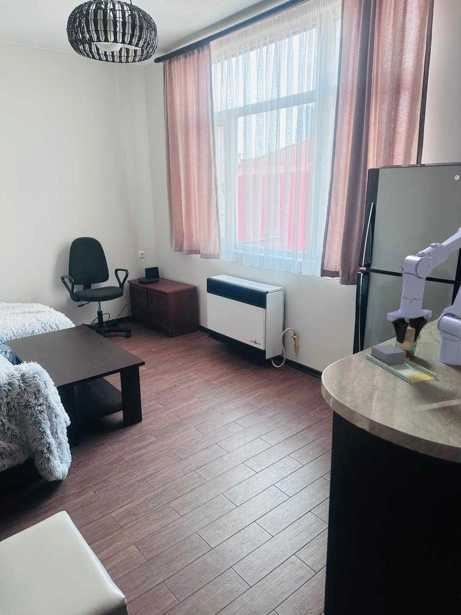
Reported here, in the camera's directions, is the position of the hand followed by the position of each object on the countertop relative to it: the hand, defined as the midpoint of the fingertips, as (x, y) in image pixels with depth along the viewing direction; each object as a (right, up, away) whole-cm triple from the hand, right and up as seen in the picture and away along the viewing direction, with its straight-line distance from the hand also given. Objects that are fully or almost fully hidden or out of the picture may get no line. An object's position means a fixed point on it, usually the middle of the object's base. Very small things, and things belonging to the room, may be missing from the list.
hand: (406, 341), depth 127 cm
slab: (-2, -7, +9) cm, 11 cm away
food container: (+6, -7, +14) cm, 17 cm away
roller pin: (0, -2, 0) cm, 2 cm away
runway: (-1, -9, +4) cm, 10 cm away
